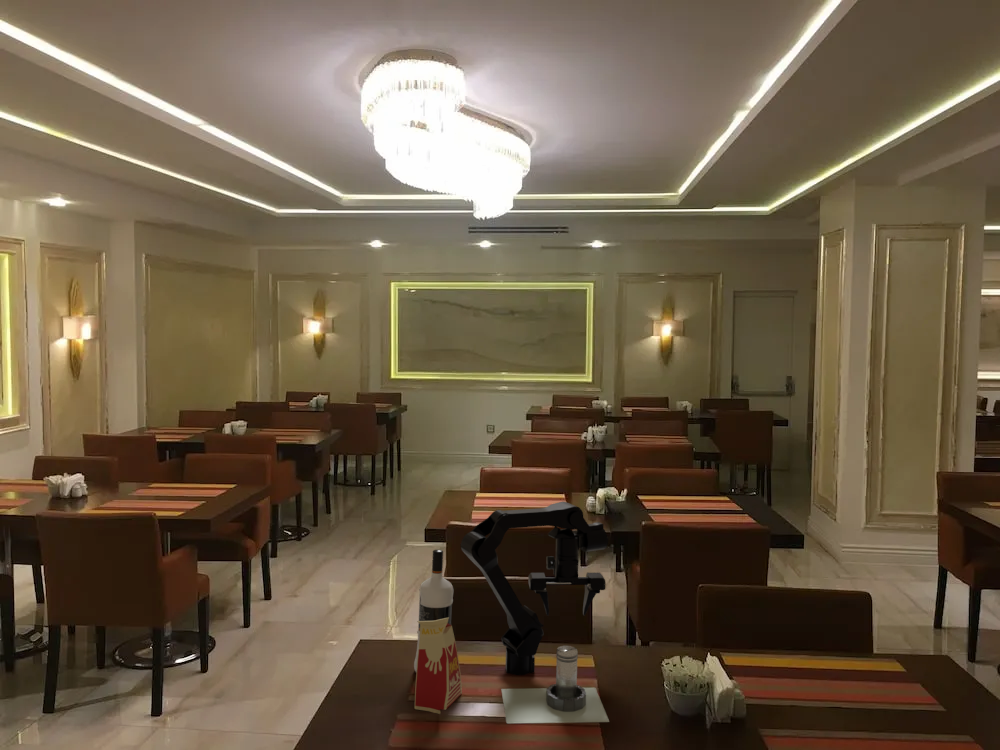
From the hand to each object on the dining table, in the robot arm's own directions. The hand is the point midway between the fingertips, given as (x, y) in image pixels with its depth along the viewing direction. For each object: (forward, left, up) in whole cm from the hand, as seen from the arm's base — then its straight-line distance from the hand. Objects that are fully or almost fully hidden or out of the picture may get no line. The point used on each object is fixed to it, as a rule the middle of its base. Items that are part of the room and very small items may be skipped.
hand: (565, 614), depth 201 cm
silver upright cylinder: (-3, -22, -12) cm, 25 cm away
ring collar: (-3, -22, -12) cm, 25 cm away
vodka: (-33, -3, -13) cm, 36 cm away
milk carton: (-32, -19, -13) cm, 40 cm away
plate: (-6, -23, -13) cm, 27 cm away
